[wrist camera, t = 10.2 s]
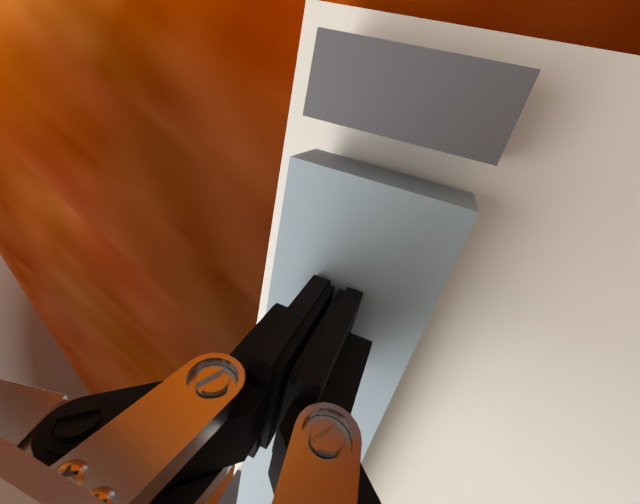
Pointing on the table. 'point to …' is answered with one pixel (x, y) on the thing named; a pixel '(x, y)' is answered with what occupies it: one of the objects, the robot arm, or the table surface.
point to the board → (495, 251)
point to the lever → (365, 268)
